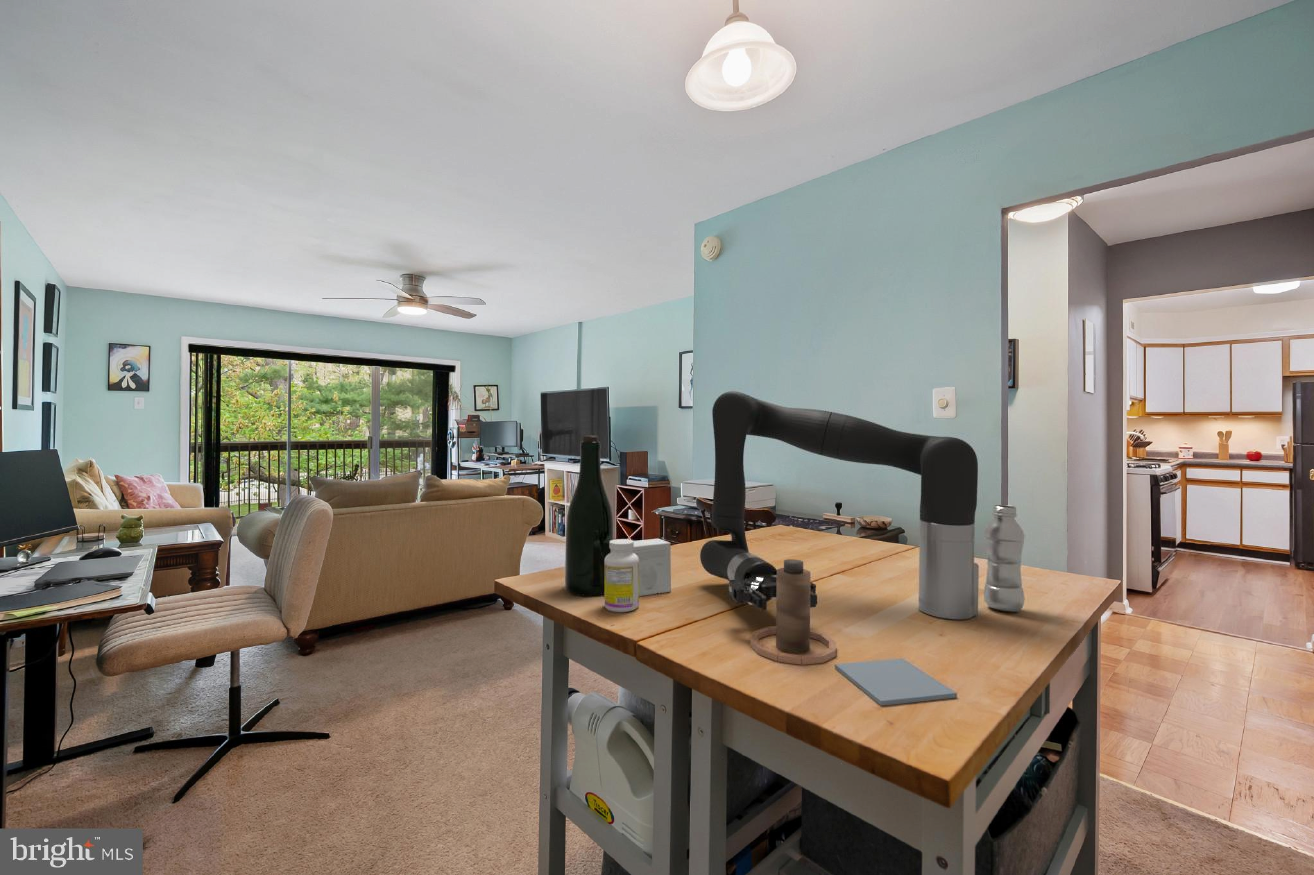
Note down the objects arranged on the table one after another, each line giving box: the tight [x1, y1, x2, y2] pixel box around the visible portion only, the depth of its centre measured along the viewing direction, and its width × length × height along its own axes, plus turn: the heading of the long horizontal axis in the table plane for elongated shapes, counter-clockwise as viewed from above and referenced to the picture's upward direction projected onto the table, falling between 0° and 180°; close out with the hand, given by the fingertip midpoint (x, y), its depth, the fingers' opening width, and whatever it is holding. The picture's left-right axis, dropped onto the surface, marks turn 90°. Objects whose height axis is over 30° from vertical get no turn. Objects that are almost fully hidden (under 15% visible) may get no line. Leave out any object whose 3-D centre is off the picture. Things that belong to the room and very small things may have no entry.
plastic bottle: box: [982, 504, 1025, 612], centre depth 106 cm, size 6×7×20 cm
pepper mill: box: [775, 558, 811, 655], centre depth 87 cm, size 5×5×14 cm
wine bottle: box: [564, 434, 615, 597], centre depth 117 cm, size 10×10×33 cm
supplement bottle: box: [603, 538, 640, 613], centre depth 106 cm, size 7×7×13 cm
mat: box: [834, 657, 958, 707], centre depth 75 cm, size 11×11×1 cm
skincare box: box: [633, 538, 672, 597], centre depth 117 cm, size 10×6×10 cm, turn 115°
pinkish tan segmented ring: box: [749, 625, 837, 665], centre depth 87 cm, size 13×13×1 cm
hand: (789, 602), depth 88 cm, fingers open, 8 cm apart
